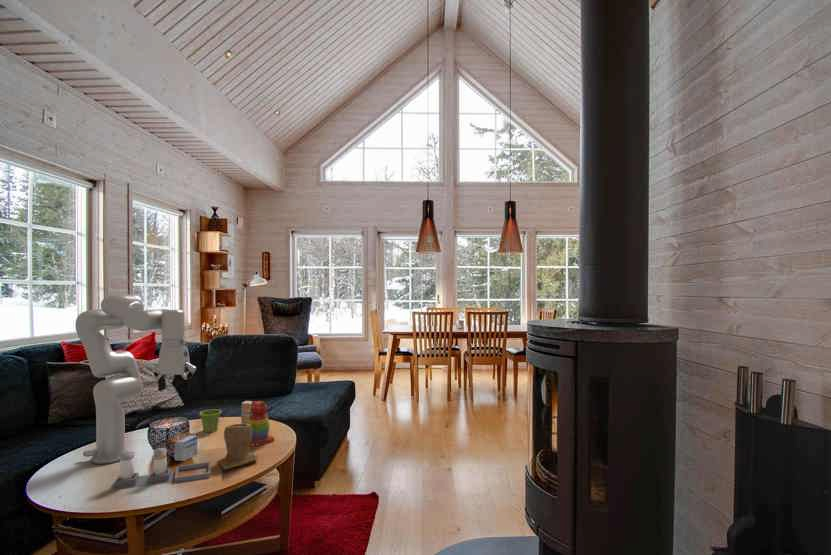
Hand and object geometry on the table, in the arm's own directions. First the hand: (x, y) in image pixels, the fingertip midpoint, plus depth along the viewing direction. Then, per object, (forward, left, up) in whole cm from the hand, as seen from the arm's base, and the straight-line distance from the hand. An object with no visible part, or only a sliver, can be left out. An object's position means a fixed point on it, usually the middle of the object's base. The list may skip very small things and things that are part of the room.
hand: (174, 390), depth 174 cm
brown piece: (+21, +1, -31) cm, 37 cm away
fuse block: (-9, -7, -31) cm, 32 cm away
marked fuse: (-4, -7, -29) cm, 30 cm away
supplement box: (+29, +43, -31) cm, 60 cm away
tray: (+7, -7, -31) cm, 32 cm away
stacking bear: (+31, +24, -31) cm, 50 cm away
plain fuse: (-14, -7, -29) cm, 33 cm away
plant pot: (+11, +49, -31) cm, 59 cm away
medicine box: (+3, +12, -31) cm, 33 cm away
